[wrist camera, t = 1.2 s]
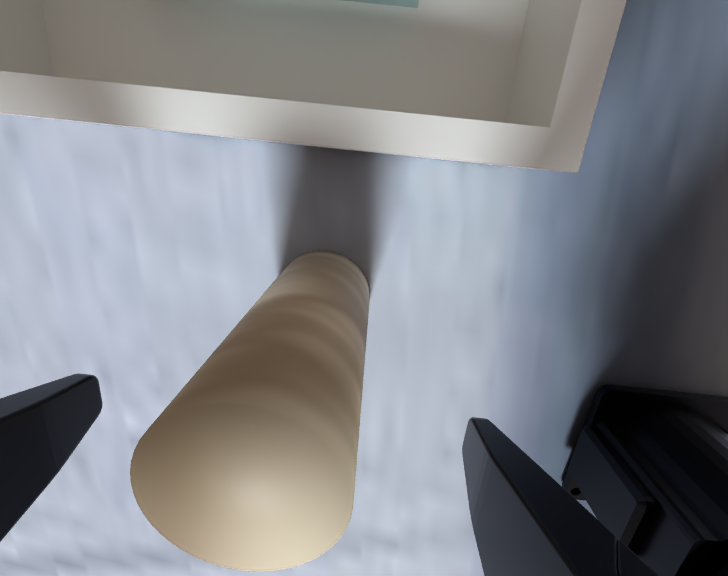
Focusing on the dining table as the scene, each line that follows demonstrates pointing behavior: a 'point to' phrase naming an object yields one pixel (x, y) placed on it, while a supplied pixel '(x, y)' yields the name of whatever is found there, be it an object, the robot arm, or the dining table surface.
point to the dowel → (266, 428)
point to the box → (322, 72)
